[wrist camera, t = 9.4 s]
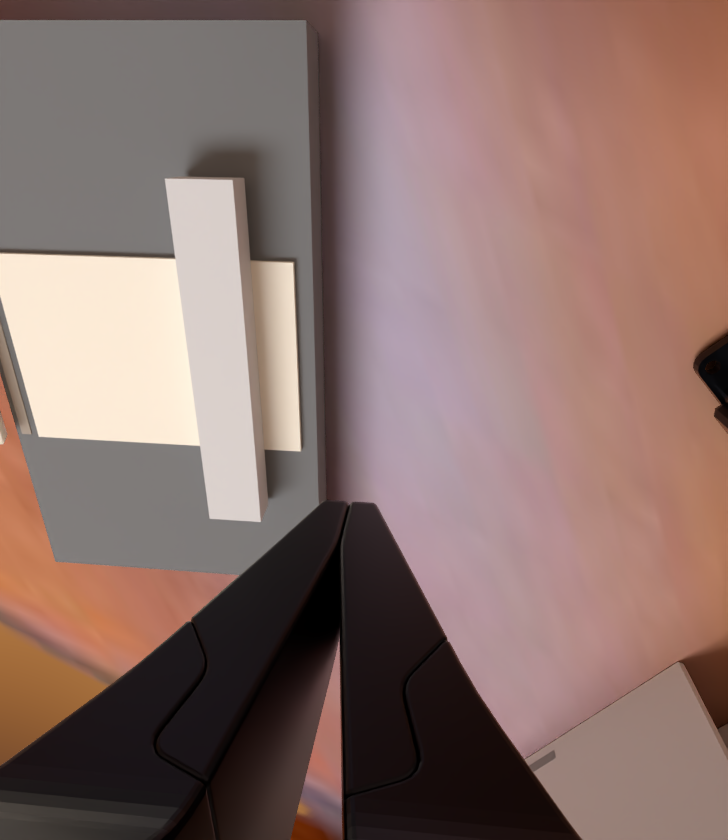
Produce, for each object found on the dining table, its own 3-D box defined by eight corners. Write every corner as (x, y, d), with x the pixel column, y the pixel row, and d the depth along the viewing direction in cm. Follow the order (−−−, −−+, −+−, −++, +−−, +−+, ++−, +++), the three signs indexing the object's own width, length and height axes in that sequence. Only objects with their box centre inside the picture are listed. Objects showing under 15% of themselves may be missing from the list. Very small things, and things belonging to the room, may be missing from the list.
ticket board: (317, 33, 17) (296, 9, 14) (327, 550, 26) (315, 604, 23) (-52, 32, 18) (-147, 9, 15) (79, 533, 27) (36, 583, 24)
